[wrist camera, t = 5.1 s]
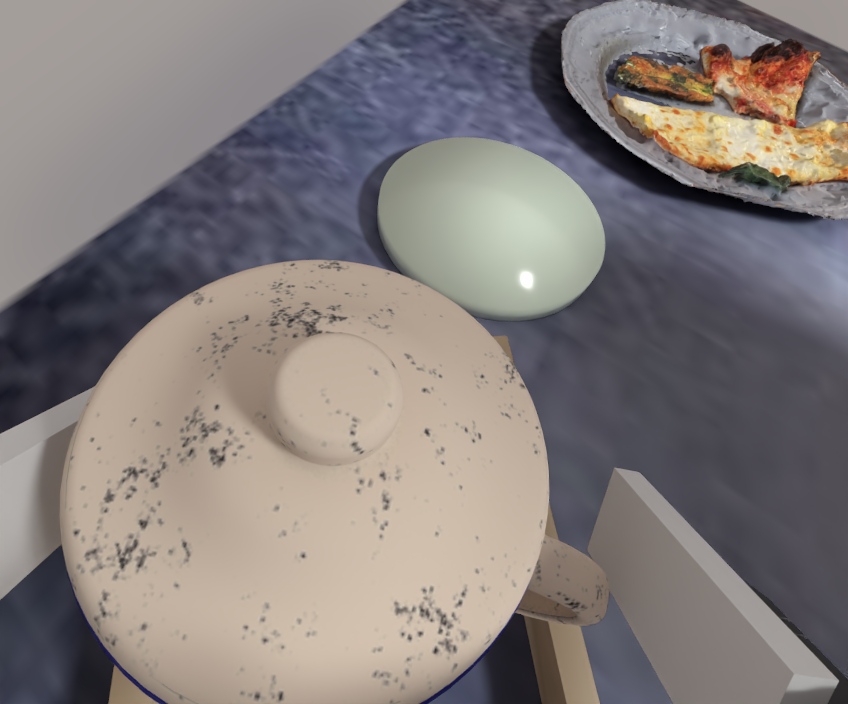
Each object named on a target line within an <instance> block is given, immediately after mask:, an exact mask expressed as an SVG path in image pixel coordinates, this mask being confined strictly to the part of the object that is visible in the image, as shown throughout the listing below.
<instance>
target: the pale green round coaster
mask: <svg viewBox="0 0 848 704" xmlns="http://www.w3.org/2000/svg"><path fill="white" fill-rule="evenodd" d="M377 225H378V230H379V235H380V238H381V241H382V243H383V246H384V248H385V250H386V252H387V254H388V256H389V257H390V259H391V261H392V262H393V263H394V265H395V266H396V267H397V269H398V270H399V271H400V272H401V273H402V274H403V275H404V276H406V277H409V278H411V279H413V280H416V281H418V282H420V283H422V284H424V285H426V286H428V287H430V288H432V289H433V290H435V291H437V292H439V293H440V294H442V295H444V296H445V297H447V298H448V299H450V300H451V301H453V302H454V303H456V304H457V305H459V306H460V307H461V308H462V309H464V310H465V311H466V312H467V313H469V314H470V315H472V316H476V317H480V318H484V319H491V320H497V321H525V320H533V319H538V318H542V317H546V316H549V315H551V314H554V313H557V312H559V311H561V310H562V309H564V308H566V307H568V306H569V305H571V304H572V303H573V302H574V301H576V300H577V299H578V298H579V297H580V296H581V295H582V294H583V292H584V291H585V290H586V289H587V287H588V286H589V285H590V283H591V282H592V281H593V279H594V278H595V276H596V275H597V273H598V271H599V270H600V267H601V265H602V262H603V259H604V253H605V235H604V229H603V226H602V223H601V220H600V217H599V215H598V213H597V211H596V209H595V207H594V205H593V204H592V202H591V201H590V199H589V198H588V196H587V195H586V194H585V193H584V191H583V190H582V189H581V188H580V187H579V186H578V185H577V184H576V183H575V182H574V181H573V180H572V179H571V178H570V177H569V176H568V175H567V174H565V173H564V172H563V171H562V170H560V169H559V168H557V167H556V166H554V165H553V164H552V163H550V162H548V161H547V160H545V159H543V158H541V157H540V156H538V155H536V154H533V153H531V152H529V151H527V150H525V149H522V148H519V147H516V146H514V145H510V144H507V143H503V142H499V141H494V140H489V139H482V138H469V137H458V138H447V139H441V140H436V141H432V142H429V143H425V144H423V145H420V146H418V147H416V148H414V149H412V150H410V151H409V152H407V153H405V154H404V155H403V156H402V157H400V158H399V159H398V160H397V161H396V162H395V163H394V164H393V165H392V166H391V167H390V169H389V170H388V172H387V174H386V175H385V177H384V179H383V182H382V185H381V188H380V194H379V201H378V210H377Z"/></svg>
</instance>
